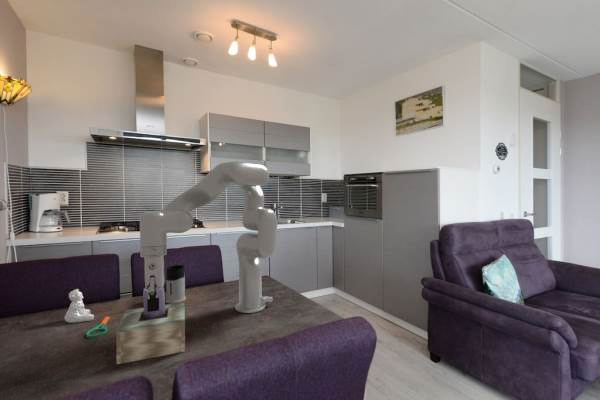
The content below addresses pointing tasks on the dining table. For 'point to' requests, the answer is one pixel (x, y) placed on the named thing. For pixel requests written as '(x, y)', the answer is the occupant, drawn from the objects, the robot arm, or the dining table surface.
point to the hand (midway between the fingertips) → (154, 306)
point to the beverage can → (161, 311)
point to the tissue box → (150, 334)
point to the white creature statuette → (77, 309)
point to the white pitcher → (175, 284)
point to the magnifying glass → (99, 327)
